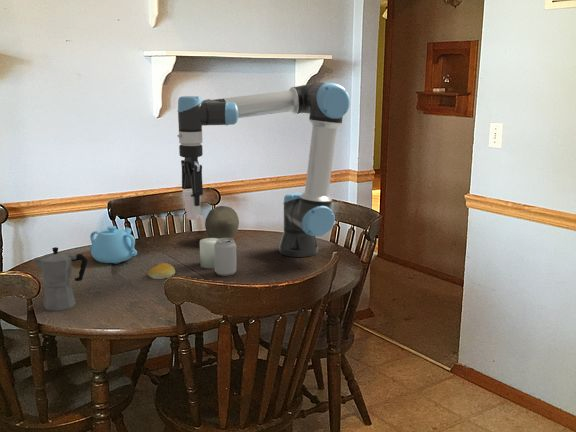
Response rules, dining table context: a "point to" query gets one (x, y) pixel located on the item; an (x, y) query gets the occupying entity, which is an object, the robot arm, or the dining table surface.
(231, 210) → the cantaloupe
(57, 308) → the coffeepot
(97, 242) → the teapot
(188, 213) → the smoothie
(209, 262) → the sage mug
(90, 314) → the dining table surface
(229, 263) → the can
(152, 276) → the bread roll
